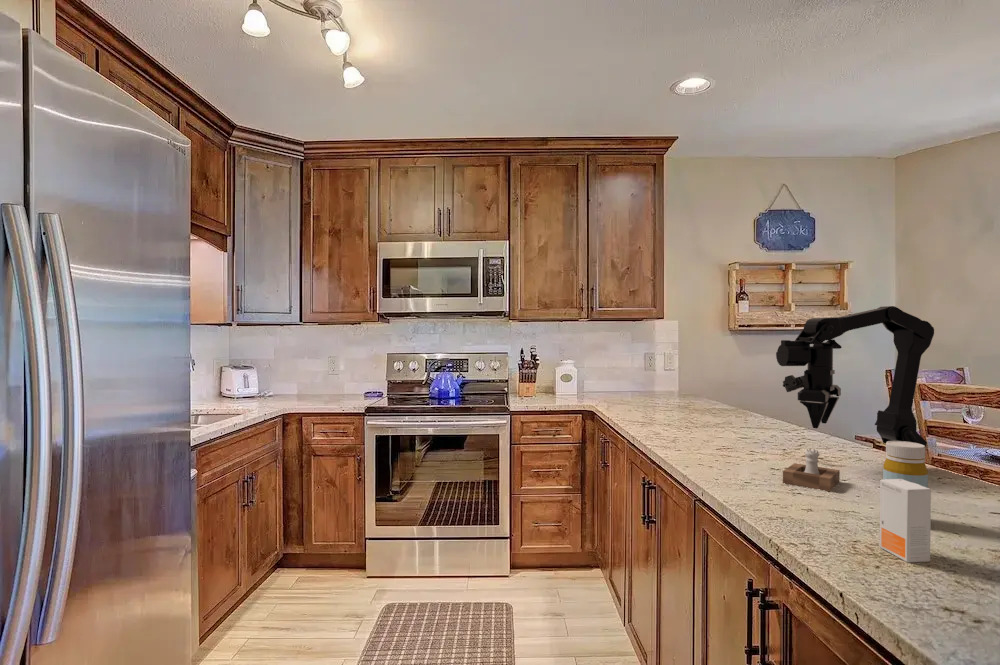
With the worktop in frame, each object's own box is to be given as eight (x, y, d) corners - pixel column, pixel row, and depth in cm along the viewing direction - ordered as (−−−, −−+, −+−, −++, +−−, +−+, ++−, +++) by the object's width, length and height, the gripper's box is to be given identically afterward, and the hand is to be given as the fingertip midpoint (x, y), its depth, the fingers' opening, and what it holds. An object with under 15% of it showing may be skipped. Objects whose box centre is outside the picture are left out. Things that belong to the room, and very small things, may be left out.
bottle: (935, 527, 103) (935, 448, 103) (893, 525, 104) (894, 447, 104) (915, 515, 110) (915, 441, 110) (876, 513, 111) (876, 439, 111)
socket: (794, 474, 140) (794, 463, 139) (839, 482, 133) (839, 470, 133) (782, 483, 132) (782, 471, 132) (830, 491, 125) (830, 478, 125)
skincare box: (878, 548, 94) (878, 478, 94) (901, 547, 94) (901, 478, 94) (907, 563, 88) (907, 489, 88) (932, 562, 88) (932, 488, 88)
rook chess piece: (819, 480, 134) (819, 448, 134) (824, 486, 130) (824, 452, 130) (799, 479, 135) (799, 447, 135) (803, 484, 131) (804, 451, 131)
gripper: (795, 362, 155) (795, 417, 155) (775, 366, 141) (775, 426, 141) (841, 364, 147) (841, 422, 147) (825, 368, 133) (824, 432, 134)
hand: (819, 425), depth 143 cm, fingers open, 9 cm apart
